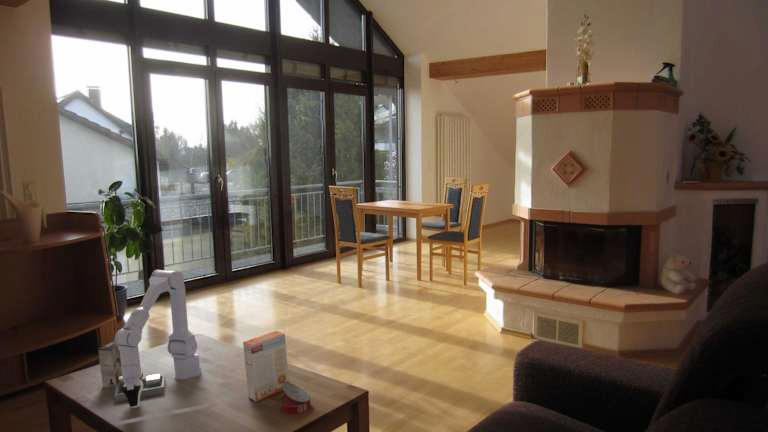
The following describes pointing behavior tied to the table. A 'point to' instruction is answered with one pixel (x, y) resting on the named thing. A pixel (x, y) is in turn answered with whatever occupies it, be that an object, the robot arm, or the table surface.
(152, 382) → the steel block
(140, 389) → the lightbulb
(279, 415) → the table surface
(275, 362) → the cracker box
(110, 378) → the coffee box
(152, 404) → the table surface
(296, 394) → the canned food
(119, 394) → the tote
